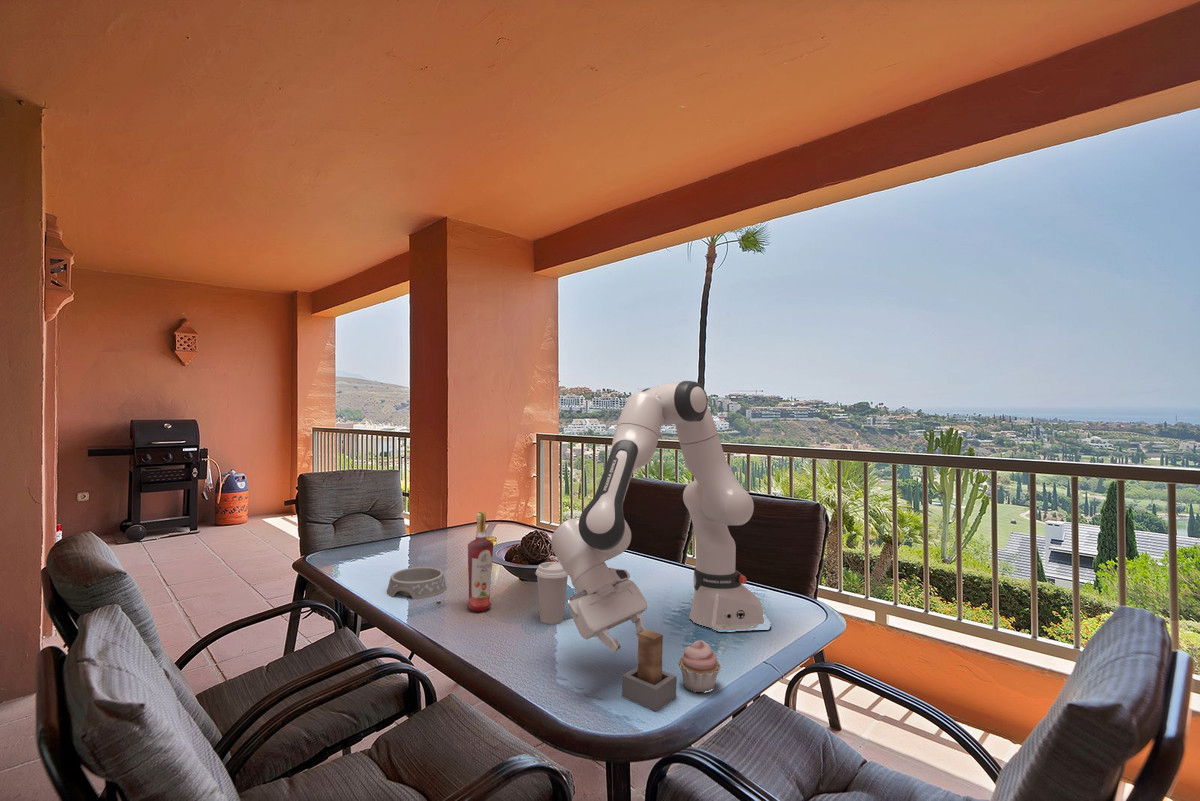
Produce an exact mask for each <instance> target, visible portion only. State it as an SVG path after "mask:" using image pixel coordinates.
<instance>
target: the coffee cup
mask: <svg viewBox="0 0 1200 801" xmlns="http://www.w3.org/2000/svg"><path fill="white" fill-rule="evenodd" d="M535 576H537V577H536V578H537V579H536V580H537V594H538V608H539V609H538V610H539V622H541V623H542V624H545V625H556V624H560V623H562V622H563V621H564V616H565V615H564V614H565V607H566V606H565V604H566V596H567V586H568V578H569V575H568V573H567V572H566V571H565V570H564V569H563V568H562V566H561V564H560V562H559V561H547V562H541V563H540V564H538V567H537V568H536V571H535Z"/></svg>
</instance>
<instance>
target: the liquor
mask: <svg viewBox="0 0 1200 801" xmlns="http://www.w3.org/2000/svg"><path fill="white" fill-rule="evenodd" d="M486 520H487V512H484V511H480V512H479V511H478V512H477V513H476V523H477V524H476V525H477V526H476V532H475V533H476V534H475V538H474V539H473V540H471V541H470V542H469V543H467V565H468V566H467V567H468V568H467V570H468V602H467V608H468V609H469V610H470V611H471V612H474V611H475V613H482V612H485V611H487V610H488V609H489V608H490V607H491V605H492V603H491V598H490V597H491V584H492V583H491V580H492V579H491V578H492V569H493V559H494V558H493V556H494V543H493V542H492V541H491V540H489V539H487V534H486V532H487V531H486V530H487V529H486ZM481 611H482V612H481Z"/></svg>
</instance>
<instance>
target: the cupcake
mask: <svg viewBox="0 0 1200 801" xmlns="http://www.w3.org/2000/svg"><path fill="white" fill-rule="evenodd" d="M679 659H680V660H678V661H677V664H678V666H679V668H680V671H681V674H682V676H681V677H682V680H683V685H684V687H685V689H687V690H688V689H689V690H688V691H690V690H692V691H696V692H705V691H709V690H711V689H713V688H714V689H715V686H716V681H717V678H718V674H720V671H721V669H722V665H721V664H720V663H719V660H718V658H717V656H716V654H715V653H714V651H713V650H712V648H711V647H710V645H709V644H708V643H707V642H706V641H704V640H701V639H699V640H696V641H695V642H693V643H692V644H691V645H689V646H686V647H685V648H684V650H683V655H682V656H680V657H679ZM714 689H713V690H714ZM692 691H691V692H692ZM696 692H695V693H696Z"/></svg>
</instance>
